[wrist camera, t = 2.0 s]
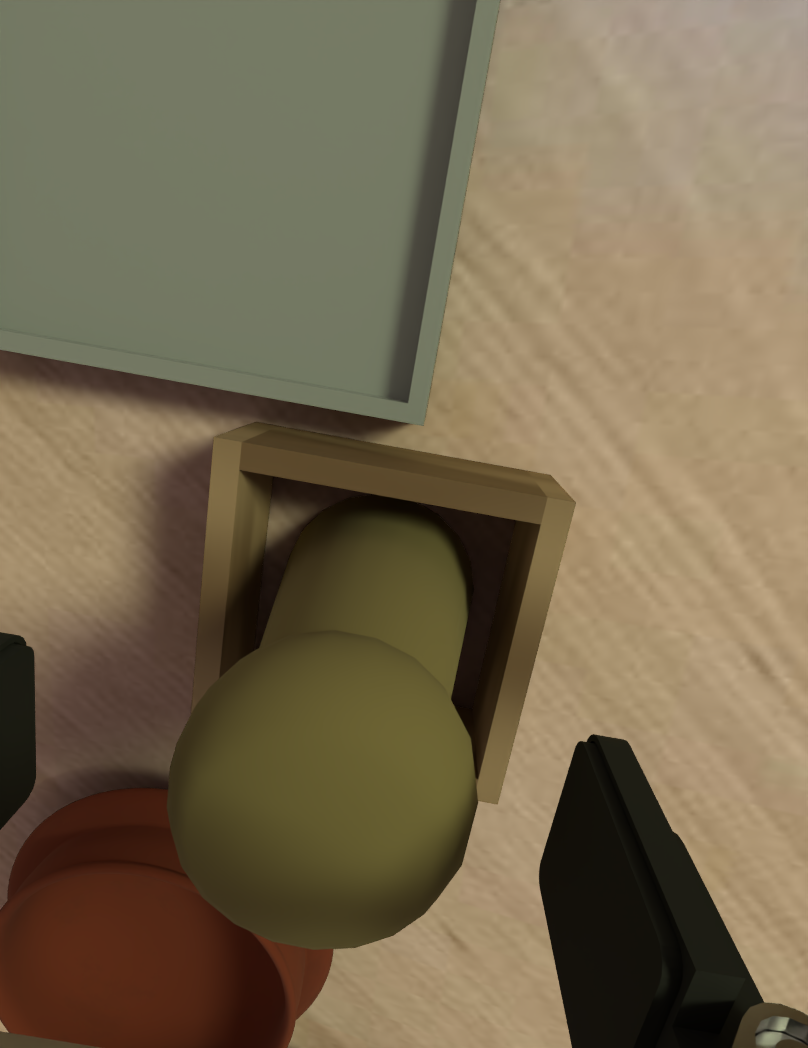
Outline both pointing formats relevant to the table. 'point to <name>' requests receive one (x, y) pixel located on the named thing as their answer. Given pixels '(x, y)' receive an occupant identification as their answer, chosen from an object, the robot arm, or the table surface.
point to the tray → (239, 189)
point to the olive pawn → (337, 739)
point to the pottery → (137, 941)
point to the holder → (401, 474)
